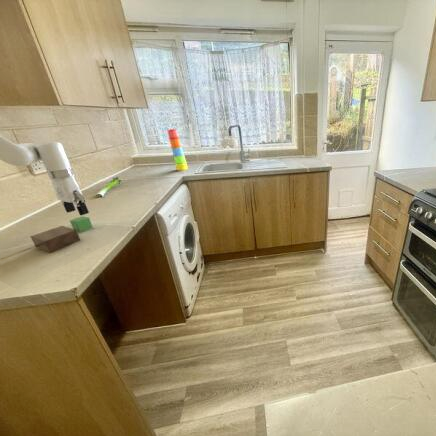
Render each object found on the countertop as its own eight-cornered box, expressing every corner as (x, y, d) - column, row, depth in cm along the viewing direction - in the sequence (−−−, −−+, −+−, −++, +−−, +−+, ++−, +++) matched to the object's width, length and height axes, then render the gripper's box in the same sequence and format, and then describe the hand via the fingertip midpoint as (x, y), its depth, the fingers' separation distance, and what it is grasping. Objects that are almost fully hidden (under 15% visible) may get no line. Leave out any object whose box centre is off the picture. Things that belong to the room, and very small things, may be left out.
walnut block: (50, 253, 90) (44, 241, 88) (35, 247, 94) (29, 236, 92) (80, 240, 99) (76, 229, 97) (66, 236, 103) (61, 225, 101)
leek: (94, 200, 151) (113, 183, 177) (107, 200, 153) (124, 183, 179) (91, 191, 148) (111, 175, 174) (104, 191, 150) (122, 175, 176)
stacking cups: (191, 170, 216) (181, 128, 202) (180, 172, 209) (169, 130, 195) (184, 168, 222) (175, 128, 208) (174, 171, 215) (163, 130, 201)
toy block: (80, 232, 106) (76, 222, 104) (73, 230, 107) (69, 220, 105) (93, 227, 110) (89, 217, 108) (86, 226, 112) (82, 216, 110)
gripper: (38, 174, 99) (56, 213, 106) (62, 177, 92) (79, 218, 99) (60, 170, 105) (76, 207, 112) (84, 173, 98) (99, 212, 105)
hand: (77, 212), depth 106 cm, fingers open, 9 cm apart
